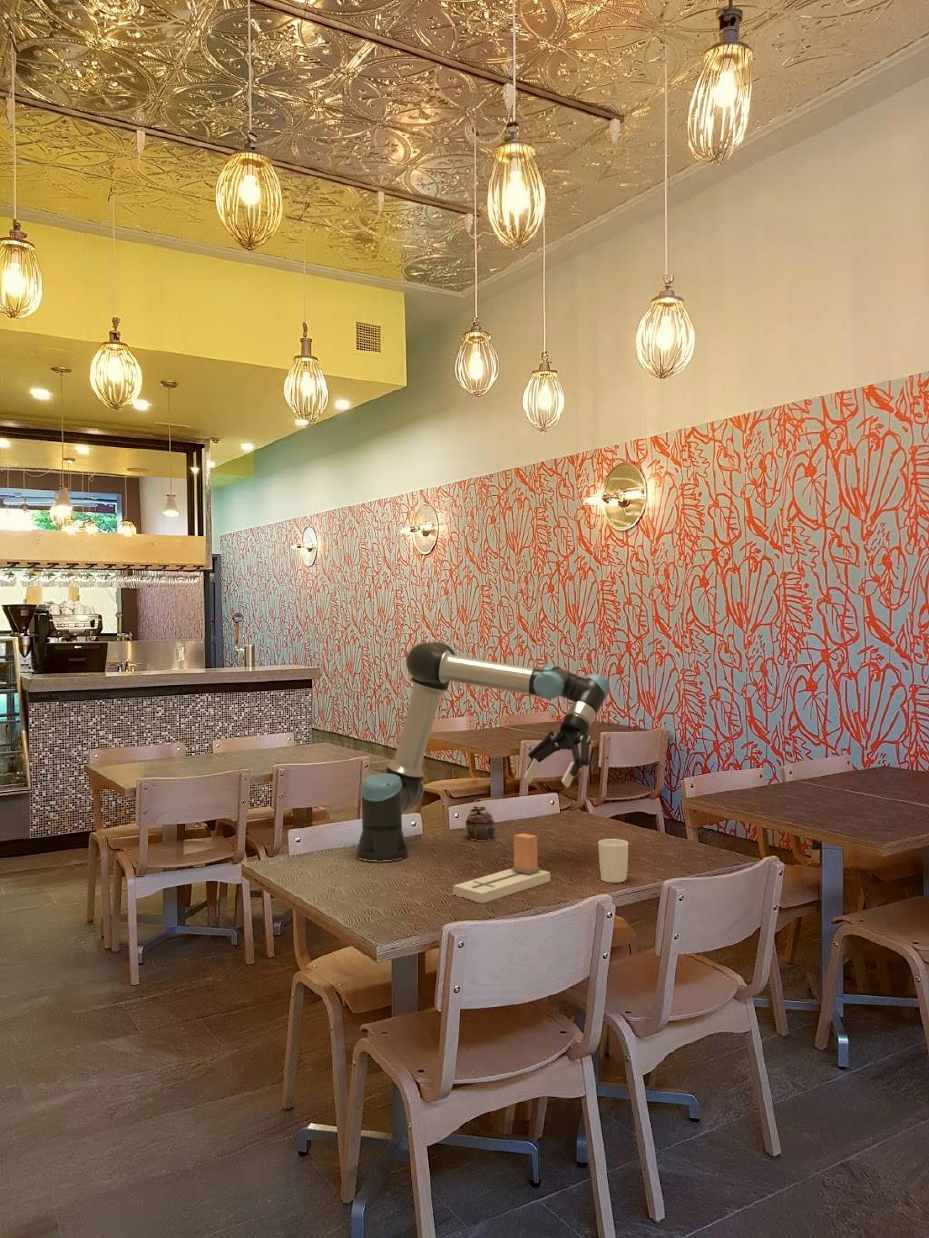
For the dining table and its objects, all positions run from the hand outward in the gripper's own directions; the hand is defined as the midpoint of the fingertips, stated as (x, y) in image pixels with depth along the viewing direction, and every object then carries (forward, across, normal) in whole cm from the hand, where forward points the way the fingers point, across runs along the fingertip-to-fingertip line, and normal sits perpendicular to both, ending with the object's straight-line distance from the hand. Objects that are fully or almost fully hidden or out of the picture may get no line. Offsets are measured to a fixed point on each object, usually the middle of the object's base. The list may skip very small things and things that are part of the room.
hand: (545, 782), depth 245 cm
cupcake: (+5, +43, -29) cm, 52 cm away
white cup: (+13, -16, -23) cm, 31 cm away
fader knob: (+22, 0, -9) cm, 24 cm away
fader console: (+30, 0, -4) cm, 31 cm away
